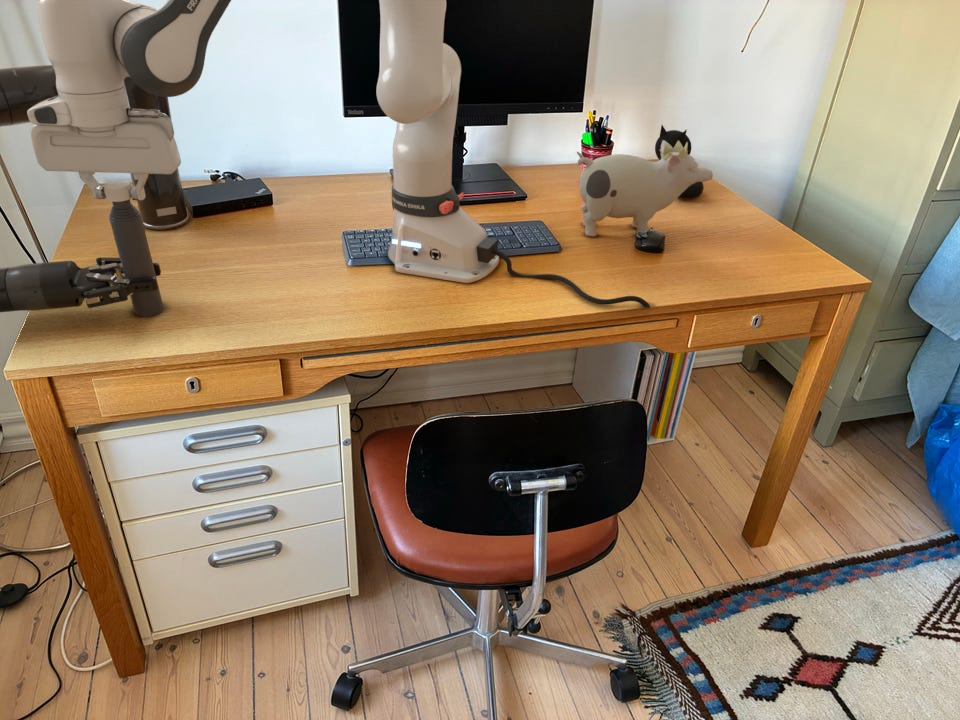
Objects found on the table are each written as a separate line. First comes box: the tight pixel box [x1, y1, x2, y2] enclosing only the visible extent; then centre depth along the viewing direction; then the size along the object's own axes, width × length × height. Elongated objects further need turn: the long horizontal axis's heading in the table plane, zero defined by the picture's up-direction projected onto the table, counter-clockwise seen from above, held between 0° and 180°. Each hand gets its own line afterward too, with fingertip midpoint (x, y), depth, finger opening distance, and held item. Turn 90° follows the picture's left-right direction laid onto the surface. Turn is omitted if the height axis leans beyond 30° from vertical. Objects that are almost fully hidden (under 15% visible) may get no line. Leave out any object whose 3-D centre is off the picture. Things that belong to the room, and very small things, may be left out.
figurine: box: [576, 140, 714, 239], centre depth 151 cm, size 10×29×20 cm, turn 89°
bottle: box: [108, 199, 165, 318], centre depth 116 cm, size 5×5×22 cm
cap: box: [103, 179, 133, 203], centre depth 111 cm, size 4×4×2 cm
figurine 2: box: [654, 124, 705, 200], centre depth 175 cm, size 16×14×15 cm
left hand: (158, 276), depth 120 cm, fingers closed on bottle, 4 cm apart
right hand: (120, 198), depth 111 cm, fingers open, 4 cm apart
